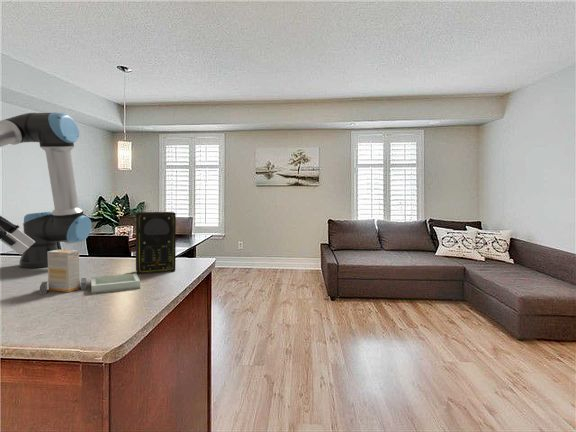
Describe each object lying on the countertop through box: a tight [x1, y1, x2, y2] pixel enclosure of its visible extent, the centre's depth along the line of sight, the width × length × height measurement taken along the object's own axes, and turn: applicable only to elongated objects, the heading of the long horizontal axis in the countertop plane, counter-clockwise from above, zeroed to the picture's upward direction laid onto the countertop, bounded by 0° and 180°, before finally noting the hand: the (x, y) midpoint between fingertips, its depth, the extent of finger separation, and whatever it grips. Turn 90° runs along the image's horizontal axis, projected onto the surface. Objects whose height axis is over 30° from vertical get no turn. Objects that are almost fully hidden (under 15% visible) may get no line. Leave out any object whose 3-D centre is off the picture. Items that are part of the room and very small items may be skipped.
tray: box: [90, 273, 141, 295], centre depth 116 cm, size 12×14×2 cm
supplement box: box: [47, 248, 81, 293], centre depth 111 cm, size 8×5×13 cm, turn 77°
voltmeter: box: [134, 211, 177, 275], centre depth 139 cm, size 16×9×25 cm, turn 120°
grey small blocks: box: [39, 277, 87, 295], centre depth 111 cm, size 7×12×2 cm, turn 121°
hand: (28, 248), depth 105 cm, fingers open, 13 cm apart
